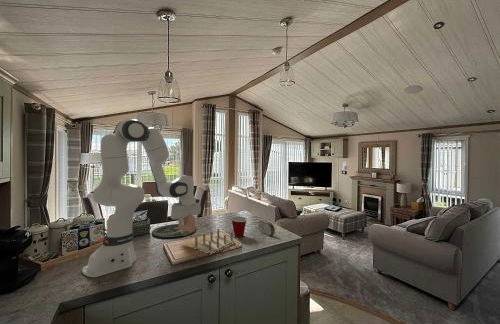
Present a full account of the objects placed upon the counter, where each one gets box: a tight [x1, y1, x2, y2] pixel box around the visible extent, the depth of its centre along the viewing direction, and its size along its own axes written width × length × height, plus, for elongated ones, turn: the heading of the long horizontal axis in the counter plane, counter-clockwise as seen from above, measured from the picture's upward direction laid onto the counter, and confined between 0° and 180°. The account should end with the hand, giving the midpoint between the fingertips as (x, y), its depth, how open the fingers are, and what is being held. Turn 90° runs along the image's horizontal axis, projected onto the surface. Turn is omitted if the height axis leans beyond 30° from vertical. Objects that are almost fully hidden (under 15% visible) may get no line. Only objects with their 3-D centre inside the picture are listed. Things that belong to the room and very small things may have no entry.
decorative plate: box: [151, 223, 197, 240], centre depth 161 cm, size 30×2×30 cm
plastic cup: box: [230, 215, 248, 238], centre depth 150 cm, size 11×11×12 cm
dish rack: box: [192, 228, 236, 255], centre depth 134 cm, size 20×15×6 cm
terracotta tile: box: [178, 215, 196, 232], centre depth 139 cm, size 2×12×9 cm, turn 55°
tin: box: [258, 219, 276, 236], centre depth 155 cm, size 15×3×8 cm, turn 34°
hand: (186, 223), depth 139 cm, fingers closed on terracotta tile, 2 cm apart
